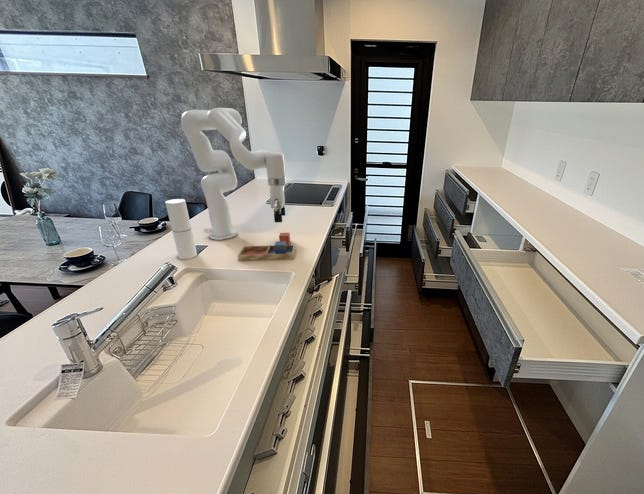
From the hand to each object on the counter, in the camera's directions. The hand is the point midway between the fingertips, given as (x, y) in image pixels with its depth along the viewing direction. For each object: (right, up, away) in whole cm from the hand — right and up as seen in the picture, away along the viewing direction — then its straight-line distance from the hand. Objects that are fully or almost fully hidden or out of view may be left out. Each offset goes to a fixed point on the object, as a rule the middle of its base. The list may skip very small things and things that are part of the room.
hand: (280, 218), depth 139 cm
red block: (-1, -11, +12) cm, 16 cm away
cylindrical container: (-40, -17, -4) cm, 44 cm away
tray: (-5, -17, -1) cm, 17 cm away
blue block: (+1, -16, -1) cm, 16 cm away
